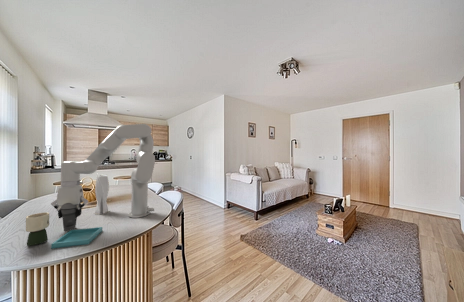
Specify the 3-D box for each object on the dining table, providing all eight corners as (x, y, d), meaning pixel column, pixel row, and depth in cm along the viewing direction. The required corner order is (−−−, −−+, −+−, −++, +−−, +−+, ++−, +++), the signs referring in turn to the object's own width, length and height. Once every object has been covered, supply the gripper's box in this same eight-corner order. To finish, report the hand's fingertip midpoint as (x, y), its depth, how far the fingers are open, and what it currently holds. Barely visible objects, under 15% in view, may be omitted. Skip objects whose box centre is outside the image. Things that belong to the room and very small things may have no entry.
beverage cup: (68, 226, 96) (68, 190, 96) (82, 225, 96) (82, 190, 97) (56, 232, 89) (56, 193, 89) (71, 231, 89) (71, 193, 89)
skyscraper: (90, 214, 114) (91, 172, 115) (101, 210, 122) (101, 171, 123) (101, 215, 113) (102, 173, 114) (111, 211, 121) (112, 171, 122)
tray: (102, 230, 91) (102, 226, 91) (88, 244, 78) (89, 239, 78) (70, 234, 87) (71, 230, 87) (51, 248, 74) (51, 243, 74)
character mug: (53, 242, 79) (54, 214, 79) (30, 250, 72) (30, 219, 72) (43, 237, 83) (44, 210, 83) (21, 244, 77) (21, 215, 77)
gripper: (92, 182, 99) (92, 212, 99) (55, 183, 94) (54, 215, 94) (86, 184, 92) (85, 217, 91) (44, 185, 87) (44, 221, 86)
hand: (69, 216), depth 93 cm, fingers closed on beverage cup, 6 cm apart
